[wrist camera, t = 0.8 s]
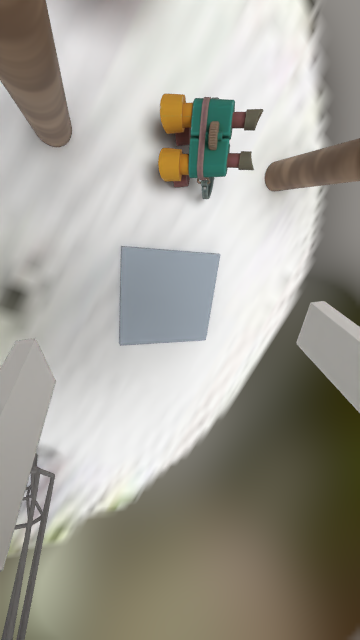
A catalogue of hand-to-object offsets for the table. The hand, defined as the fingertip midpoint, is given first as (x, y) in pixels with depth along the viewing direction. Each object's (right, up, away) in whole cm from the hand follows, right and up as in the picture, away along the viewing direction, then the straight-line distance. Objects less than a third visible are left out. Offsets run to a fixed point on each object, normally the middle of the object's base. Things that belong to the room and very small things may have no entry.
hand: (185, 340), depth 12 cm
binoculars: (0, +21, +17) cm, 27 cm away
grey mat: (-2, +4, +24) cm, 24 cm away
